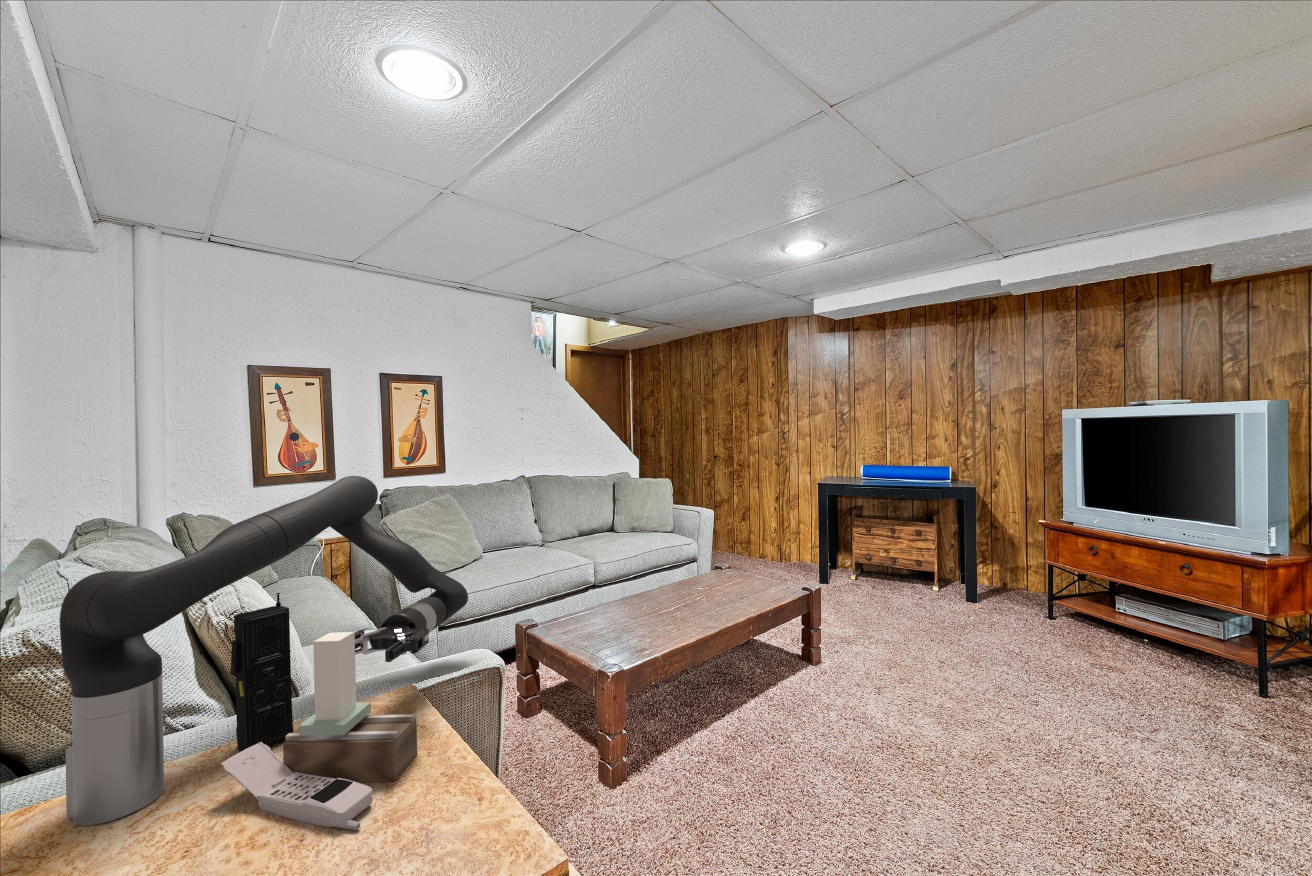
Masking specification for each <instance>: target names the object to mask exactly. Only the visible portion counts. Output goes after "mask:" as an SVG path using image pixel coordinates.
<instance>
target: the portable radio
mask: <svg viewBox="0 0 1312 876" xmlns="http://www.w3.org/2000/svg"><path fill="white" fill-rule="evenodd" d="M280 594H281V592H277V593H275V595H276V599H277V600H276V603H275V605H273V606H269V607H268V606H267V607H264V608H260V609H259V608H258V609H255V610H251V611H247V612H243V613H239V614H235V615H233V632H234V639H232V641H231V655H230V659H231V660H230V671H229V672H230V675H231V676H234V677H235V705H236V706H235V708H236V709H235V710H236V712H235V713H236V716H235V717H236V728H235V733H236V749H237V750H238V751H239V752H241V751H243V750H245V749H247V748H249V747H251V746H253V745H256V744H258V743H259V742H262V743H263V744H264V745H265V744H266V745H267V746H268V747H269V748H270V749H271V748H272V747H274V746H277V745H279V744H281V743H282V744H283V743H284V742H286V735H288V734H289V733H294V721H293V720H294V719H293V718H294V717H293V700H292V699H293V698H292V697H293V693H292V692H293V691H292V673H291V672H292V671H291V669H292V668H291V664H292V663H291V661H292V660H291V629H290V628H291V627H290V626H291V625H290V608H289V607H286V606H284V605H282V603H281V601H280Z"/></svg>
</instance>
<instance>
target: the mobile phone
mask: <svg viewBox="0 0 1312 876" xmlns="http://www.w3.org/2000/svg"><path fill="white" fill-rule="evenodd" d="M220 764H221V765H222V766H223V768H224V770H225V771H226V772H227V773H228V774H230V775H231V776H232V777H233V778H234V779H235V780H236V781H237V782H238V783H239V784H241V786H242V787H244V788H245V789H246V790H247V791H248V792H249V793H250V794H251V795H252V796H254V797H255V799H256V800H257V805H258V807H259V809H260V810H261V811H263V812H266V813H270V814H273V815H277V816H281V817H284V818H288V819H292V820H295V821H298V822H299V821H300V822H303V823H307V824H311V825H314V826H315V825H316V826H319V827H326V828H341V829H346V830H353V831H358V830H359V829H360V828H361V822H358V821H356V820H353V819H354V818H355V817H357V816H358V815H359V814H360V813H362V812H363V811H364V810H365V809H366V808H368V807H369V806H370V805H371V804H372V803H373V800H374V799H373V788H372V787H371V786H368V785H366V784H363V783H361V782H354V781H351V780H346V779H341V778H337V779H334V778H328V777H321V776H315V775H309V774H303V773H298V772H295V773H293V772H292V771H291V770H290V769H289V768H288V767H287V766H286V765H285V764H284V763H283V760H281V759H280V758H279V757H278V756H277V755H276V754H275V753H274V752H273V751H272V750H271V747H270V748H269V747H268V746H267V745H266V744H265V745H264V744H263V743H262V742H259V743H258V744H256V745H253V746H251V747H249V748H247V749H245V750H243V751H239V752H238V753H236V754H234V755H233V756H230V757H229V758H227V759H226V760H224V761H223V762H220Z"/></svg>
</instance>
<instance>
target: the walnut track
mask: <svg viewBox="0 0 1312 876" xmlns="http://www.w3.org/2000/svg"><path fill="white" fill-rule="evenodd" d="M417 723H418V722H417V717H416V715H415V714H414V713H413V714H377V715H376V714H368V715H367V716H365V717H364V718H363V719H362V720H361V721H360V722H359V723H357V724H356V725H355V726H354V727H353V728H352V729H351V730H349V731H348V732H347V733H346V734H345V735H313V736H299V731H297V732H293V733H289V734H288V735H286V741H284V742H282V762H283V763H284V764H285V765H286V766H287V767H288V768H289V769H290V770H291V771H292V772H293V773H295V772H298V773H303V774H309V775H315V776H321V777H328V778H334V779H337V778H341V779H346V780H351V781H354V782H357V783H392V782H393V783H394V782H396V781H397V780H398V779H399V777H400V776H401V775H402V774H403V772H405V770H406V769H407V768H408V767H409V765H411V763H412V762H413V761H414V760H415V758H416V757H417V756H418V735H417V734H418V728H417V727H418V726H417Z"/></svg>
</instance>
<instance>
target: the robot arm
mask: <svg viewBox="0 0 1312 876" xmlns="http://www.w3.org/2000/svg"><path fill="white" fill-rule="evenodd" d="M378 499H379V491H378V488H377V485H376V484H375V483H374V482H373V481H371V480H370V479H369V478H366V477H364V476H362V475H349V476H344V477H342V478H340V479H338V480H337V481H335V482H333V483H332V484H330V485H328V486H327V487H324V488H322V489H321V490H319V491H317V492H315V493H312V494H310V495H308V496H306V497H303V498H299V499H297V500H294V501H291V502H288V503H285V504H282V505H280V506H278V507H275V508H272V509H269V510H267V511H264V512H262V513H259V514H256V515H254V516H251V517H249V518H246V519H243V520H242V521H239V522H237V523H234V524H232V525H230V526H228V527H227V528H224V529H223V530H222V531H221V532H219V533H218V534H217V535H216V536H214V537H213V538H212V539H211V540H210V541H209V542H208V543H207V544H206V545H204V547H202V548H201V549H199V550H198V551H195V552H193V553H191V554H190V555H187V556H185V557H182V558H180V559H177V560H174V561H172V562H170V563H166V564H163V565H159V566H158V567H153V568H150V569H147V570H140V571H134V570H133V571H132V570H131V571H128V570H127V571H126V570H125V571H124V570H108V571H107V570H106V571H100V572H95V573H93V574H89V575H88V576H86V577H85V576H84V578H81V579H80V580H79V581H78V582H76V583H75V584H74V585H73V586H71V588H70V589H69V590H68V591H67V593H66V594H65V596H64V599H63V600H62V601H63V602H62V603H61V606H60V607H61V608H60V612H59V633H60V635H59V636H60V649H61V651H60V652H61V661H62V662H61V663H62V668H63V669H62V670H63V672H64V674H65V676H66V678H67V679H68V681H69V683H70V687H71V688H70V689H71V690H70V691H71V721H72V722H71V730H72V731H71V733H72V734H71V737H72V738H71V739H72V742H71V743H72V745H70V746H69V747H68V748H67V749H66V750H65V794H66V796H65V800H66V801H65V803H66V805H65V807H66V808H65V809H66V810H65V811H66V815H65V816H66V819H72V820H73V823H74V824H76V825H79V826H93V825H99V824H104V823H107V822H111V821H114V820H118V819H120V818H123V817H125V816H128V815H130V814H132V813H134V812H136V811H137V812H138V811H139V810H140V809H143V808H144V807H146V806H147V805H150V804H151V803H152V802H154V801H155V800H157V799H158V798H159V797H160V796H161V795H162V794H163V792H164V790H165V766H164V765H165V763H164V762H165V755H164V753H165V750H164V749H165V748H164V746H165V745H164V697H163V696H164V693H163V692H164V691H163V689H164V688H163V659H162V656H161V655H160V653H159V652H158V651H156V650H155V649H153V648H152V647H151V646H150V645H149V643H148V642H147V640H146V639H145V637H144V634H145V635H146V634H147V633H149V632H152V631H153V630H155V629H157V628H158V627H160V626H162V625H163V624H166V623H167V622H169V621H170V620H172V619H173V618H175V617H176V616H178V615H180V614H181V613H182V612H184V611H185V610H187V609H189V608H190V607H193V606H194V605H195V604H197V603H198V602H200V601H202V600H203V599H205V598H207V597H208V596H210V595H212V594H213V593H215V592H217V591H219V590H221V589H223V588H225V587H228V586H229V585H232V584H234V583H236V582H238V581H240V580H242V579H244V578H246V577H248V576H250V575H252V574H253V573H256V572H259V571H261V570H262V569H264V568H266V567H268V566H270V565H272V564H274V563H277V562H279V561H280V560H282V559H284V558H285V557H287V556H289V555H291V554H292V553H293V552H295V551H297V550H298V549H300V548H302V547H303V546H304V545H306V544H307V543H309V542H310V541H311V540H313V539H314V538H315V537H317V536H318V535H320V534H321V533H322V532H323V531H325V530H326V529H328V528H329V527H330V528H331V529H333V530H334V531H335V532H337V533H338V534H340V535H341V536H342V537H344V538H345V539H347V541H349V542H351V543H353V545H355V546H356V547H357V548H358V549H361V550H362V551H364V552H365V554H368V555H369V556H370V557H372V558H373V559H374V560H376V561H377V562H378V563H379V564H380V565H382V566H383V567H384V568H385V569H386V570H387V571H388V572H389V573H391V575H392V576H393V578H396V580H398V581H399V582H400V584H401V585H403V587H404V588H406V590H408V591H409V592H410V593H412V594H413V593H414V594H415V593H418V592H421V591H423V590H426V589H432V590H434V591H433V592H432V593H430V595H428V596H427V597H423V598H421V599H418V600H417V601H415V602H414V603H412V604H409V605H407V606H405V607H403V608H401V609H400V610H398V611H395V612H394V613H393V614H390V615H389V616H387V618H385V619H384V621H383V622H382V624H381V625H380V627H379V628H378V629H376V630H374V631H370V632H367V633H365V630H364V629H363V630H359V631H356V632H354V633H355V656H356V655H359V654H362V655H368V654H372V653H376V652H384V651H385V652H384V654H385V655H384V657H385V663H391V662H393V661H395V660H396V659H397V658H399V657H400V656H404V655H407V654H408V652H410V654H417V653H419V652H420V651H421V650H422V649H423V648H425V647H426V646H427V645H428V644H429V642H430V633H431V632H432V631H435V629H437V628H438V627H439V626H441V625H442V624H443V623H445V622H446V621H448V620H449V619H451V617H453V616H454V615H455V614H457V613H458V612H459V611H460V610H461V609H463V608H464V607H465V606H466V605H467V604H468V601H469V594H468V593H469V592H468V591H467V589H466V587H465V586H464V585H463V584H462V583H461V582H459V581H458V580H456V579H455V578H452V577H451V576H449V575H447V574H445V573H443V572H442V571H440V570H439V569H437V568H435V567H434V566H433V565H432V564H431V563H430V562H429V561H428V560H427V559H426V558H425V557H424V556H423V555H422V553H420V552H419V551H418V550H417V549H416V548H415V547H413V546H411V545H410V544H408V543H406V542H404V541H401V540H399V539H397V538H394V537H392V536H389V535H388V534H385V533H383V532H381V531H379V530H378V529H376V527H374V526H372V524H370V523H369V522H368V521H367V520H366V518H365V516H366V515H367V514H368V513H369V512H371V511H372V510H373V508H374V507H375V506H376V504H377V502H378ZM368 642H369V643H368ZM368 644H370V646H371V647H370V648H368Z"/></svg>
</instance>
